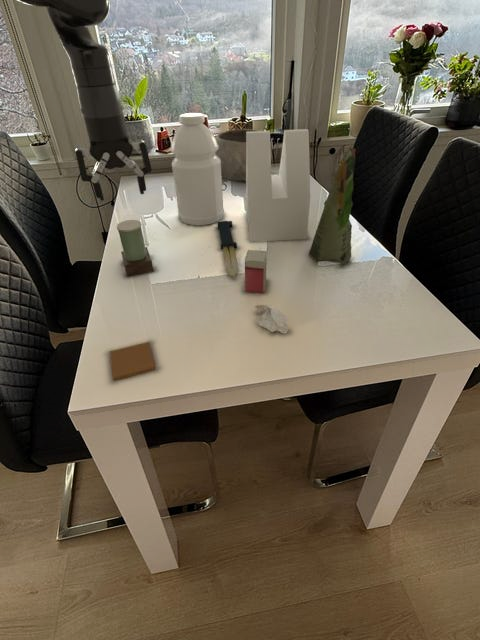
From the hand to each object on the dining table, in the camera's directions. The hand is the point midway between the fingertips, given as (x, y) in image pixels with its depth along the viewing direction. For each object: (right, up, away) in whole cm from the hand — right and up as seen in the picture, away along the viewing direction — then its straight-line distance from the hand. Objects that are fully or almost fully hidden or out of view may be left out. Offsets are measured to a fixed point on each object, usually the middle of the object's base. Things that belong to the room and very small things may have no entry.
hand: (122, 196), depth 81 cm
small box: (+29, -20, +2) cm, 35 cm away
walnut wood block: (+1, -14, +11) cm, 18 cm away
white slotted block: (+36, 0, +27) cm, 45 cm away
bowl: (+27, +29, +64) cm, 75 cm away
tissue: (+32, -28, -8) cm, 43 cm away
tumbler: (0, -12, +9) cm, 15 cm away
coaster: (+7, -34, -15) cm, 38 cm away
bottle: (+14, +5, +34) cm, 37 cm away
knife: (+23, -9, +16) cm, 29 cm away
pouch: (+48, -12, +11) cm, 51 cm away
